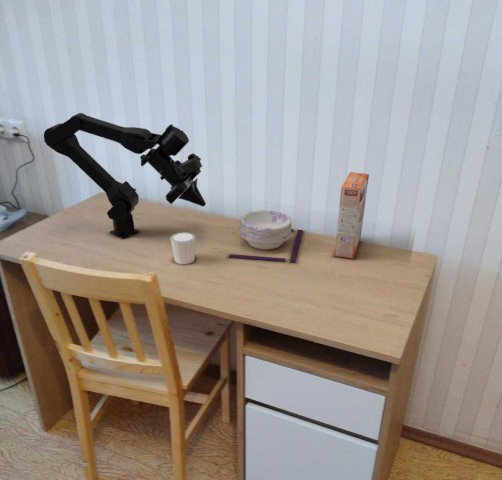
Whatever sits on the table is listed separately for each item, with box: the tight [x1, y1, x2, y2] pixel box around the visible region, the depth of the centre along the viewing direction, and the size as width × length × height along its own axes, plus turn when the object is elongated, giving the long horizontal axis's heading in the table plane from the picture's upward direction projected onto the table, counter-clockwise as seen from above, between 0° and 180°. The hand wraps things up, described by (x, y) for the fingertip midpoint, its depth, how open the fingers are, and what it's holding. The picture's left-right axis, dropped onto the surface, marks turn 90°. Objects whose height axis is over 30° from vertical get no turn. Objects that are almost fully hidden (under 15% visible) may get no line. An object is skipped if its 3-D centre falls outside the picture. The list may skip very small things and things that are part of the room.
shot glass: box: [170, 232, 196, 265], centre depth 150 cm, size 7×7×7 cm
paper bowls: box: [239, 209, 293, 250], centre depth 159 cm, size 15×15×8 cm
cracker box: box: [333, 171, 370, 259], centre depth 152 cm, size 14×6×21 cm, turn 161°
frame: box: [228, 228, 304, 264], centre depth 160 cm, size 19×22×1 cm
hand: (204, 205), depth 158 cm, fingers closed
